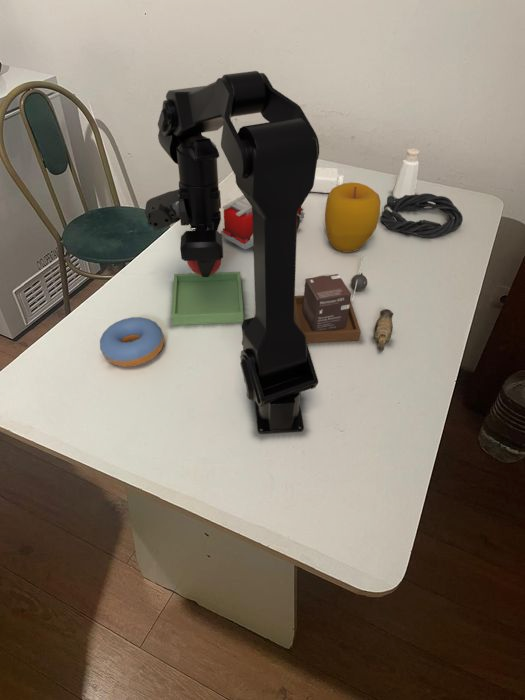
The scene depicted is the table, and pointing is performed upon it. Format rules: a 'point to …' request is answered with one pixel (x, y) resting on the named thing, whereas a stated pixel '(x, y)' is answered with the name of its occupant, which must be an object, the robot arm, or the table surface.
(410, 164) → the pepper shaker
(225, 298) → the produce tray
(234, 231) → the toy fire truck
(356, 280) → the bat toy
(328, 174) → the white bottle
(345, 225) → the apple
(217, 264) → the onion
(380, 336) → the cat figurine
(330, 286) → the box
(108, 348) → the doughnut
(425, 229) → the cable
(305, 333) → the walnut tray
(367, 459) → the table surface
